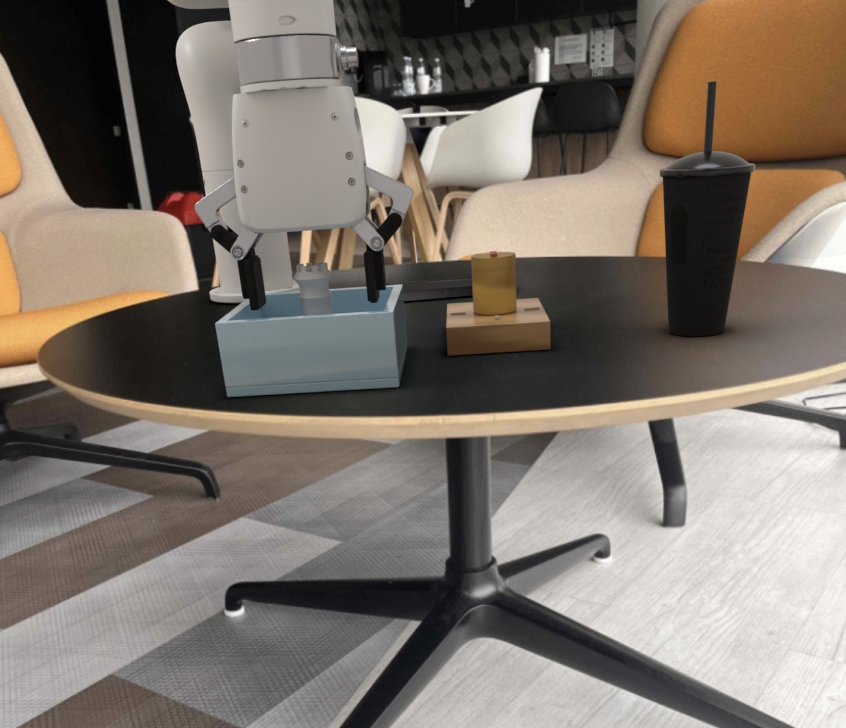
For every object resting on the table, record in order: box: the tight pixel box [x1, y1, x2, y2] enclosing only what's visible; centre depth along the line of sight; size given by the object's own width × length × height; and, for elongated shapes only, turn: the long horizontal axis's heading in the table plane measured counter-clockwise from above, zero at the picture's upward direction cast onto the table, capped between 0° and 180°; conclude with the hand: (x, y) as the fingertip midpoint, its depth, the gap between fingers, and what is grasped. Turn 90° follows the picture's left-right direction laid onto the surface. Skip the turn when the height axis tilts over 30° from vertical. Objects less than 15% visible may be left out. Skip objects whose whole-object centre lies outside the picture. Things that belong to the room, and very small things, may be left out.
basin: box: [214, 284, 408, 398], centre depth 73 cm, size 14×14×6 cm
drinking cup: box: [659, 80, 756, 337], centre depth 75 cm, size 8×8×20 cm
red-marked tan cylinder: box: [470, 250, 518, 315], centre depth 79 cm, size 4×4×5 cm
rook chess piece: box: [292, 261, 334, 316], centre depth 72 cm, size 4×4×8 cm
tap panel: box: [445, 297, 552, 357], centre depth 81 cm, size 12×9×3 cm
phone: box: [386, 276, 473, 302], centre depth 107 cm, size 8×1×15 cm
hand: (316, 303), depth 72 cm, fingers open, 9 cm apart
